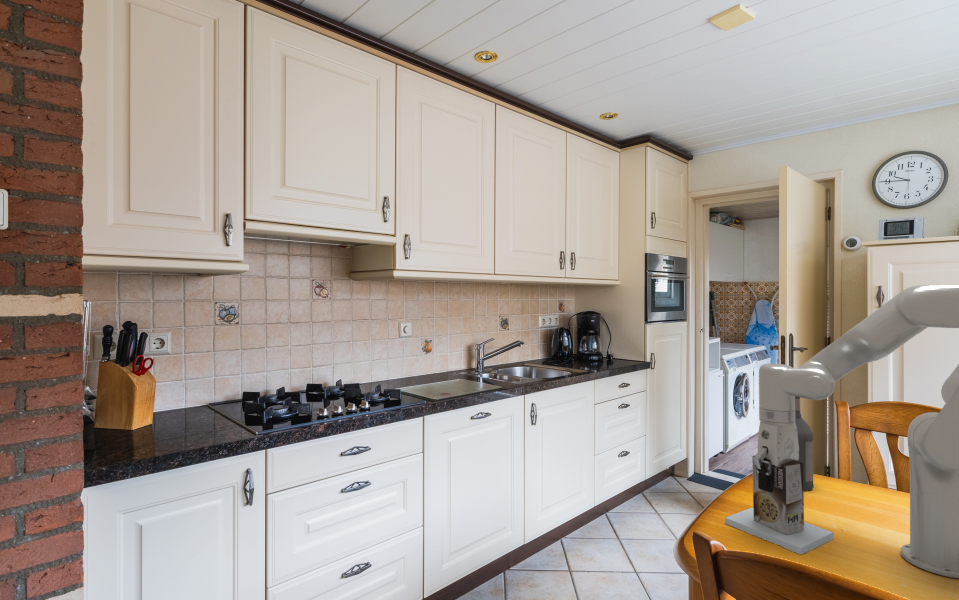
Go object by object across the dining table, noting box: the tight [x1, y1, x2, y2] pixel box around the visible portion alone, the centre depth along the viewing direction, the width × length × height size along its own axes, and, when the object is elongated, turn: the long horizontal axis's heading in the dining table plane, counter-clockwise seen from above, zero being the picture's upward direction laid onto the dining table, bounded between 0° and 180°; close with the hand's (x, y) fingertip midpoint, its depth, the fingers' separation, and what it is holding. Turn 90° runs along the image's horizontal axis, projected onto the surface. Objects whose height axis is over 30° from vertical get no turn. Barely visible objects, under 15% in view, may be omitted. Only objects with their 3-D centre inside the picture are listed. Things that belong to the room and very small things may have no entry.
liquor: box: [795, 396, 814, 492], centre depth 152 cm, size 9×9×30 cm
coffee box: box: [751, 455, 805, 535], centre depth 122 cm, size 9×6×16 cm
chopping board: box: [724, 507, 834, 555], centre depth 123 cm, size 18×14×2 cm
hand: (777, 486), depth 123 cm, fingers open, 9 cm apart
